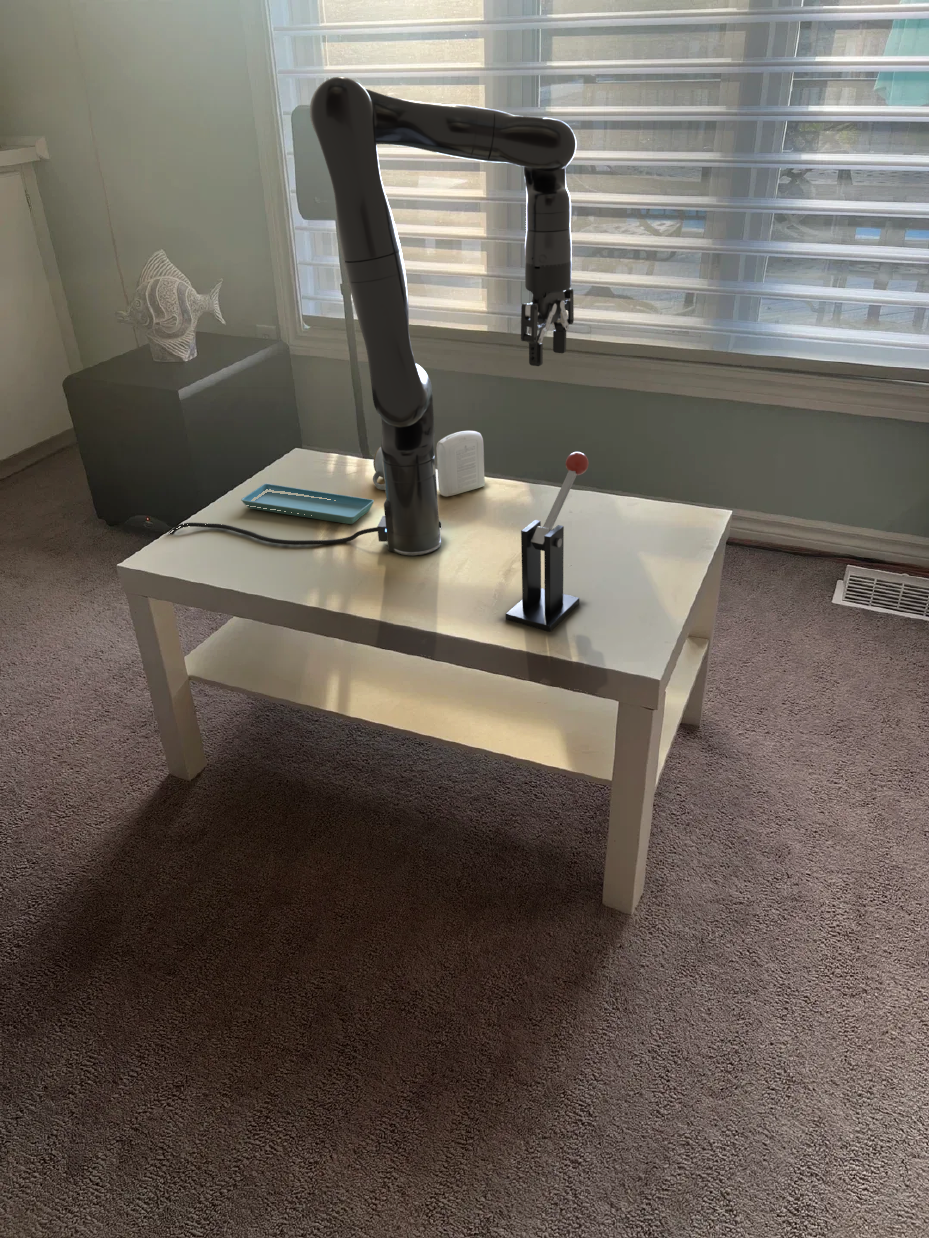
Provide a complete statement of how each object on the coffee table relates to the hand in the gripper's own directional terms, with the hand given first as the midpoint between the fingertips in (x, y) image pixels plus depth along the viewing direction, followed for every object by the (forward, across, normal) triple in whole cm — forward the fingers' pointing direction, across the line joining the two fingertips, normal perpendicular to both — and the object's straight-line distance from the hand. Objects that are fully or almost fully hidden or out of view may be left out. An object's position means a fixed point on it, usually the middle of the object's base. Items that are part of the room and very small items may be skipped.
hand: (547, 359), depth 157 cm
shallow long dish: (+32, +14, -47) cm, 59 cm away
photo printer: (+32, -8, -25) cm, 41 cm away
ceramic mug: (+32, -6, -40) cm, 52 cm away
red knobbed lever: (+16, +21, +14) cm, 30 cm away
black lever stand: (+32, +28, +14) cm, 45 cm away
